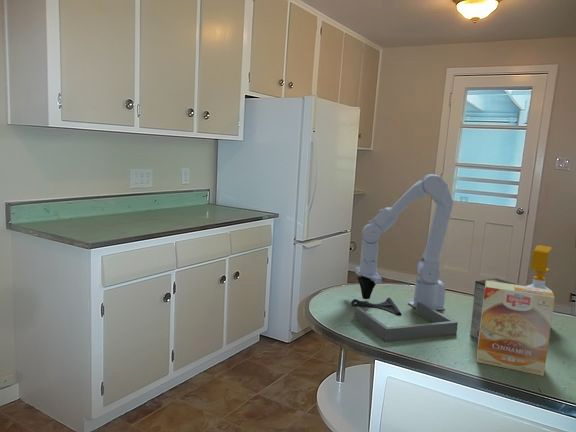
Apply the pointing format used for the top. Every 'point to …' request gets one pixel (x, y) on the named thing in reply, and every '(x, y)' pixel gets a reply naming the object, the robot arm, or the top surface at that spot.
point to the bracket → (379, 305)
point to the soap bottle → (540, 266)
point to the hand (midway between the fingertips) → (366, 298)
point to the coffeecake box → (515, 327)
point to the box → (437, 328)
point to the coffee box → (479, 305)
